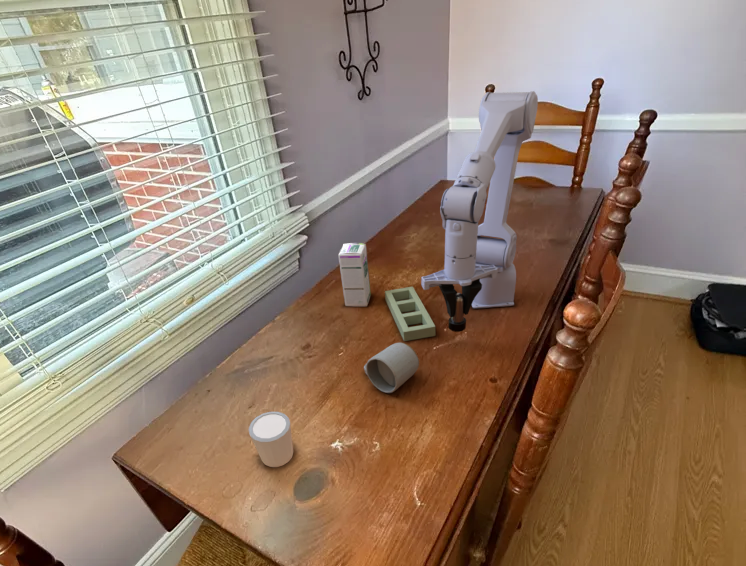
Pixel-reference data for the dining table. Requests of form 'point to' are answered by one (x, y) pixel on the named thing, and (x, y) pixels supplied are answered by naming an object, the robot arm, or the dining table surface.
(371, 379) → the ceramic mug
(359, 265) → the syrup box
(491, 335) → the dining table surface
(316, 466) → the dining table surface
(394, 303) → the rack
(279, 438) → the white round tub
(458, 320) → the silver rounded cylinder
